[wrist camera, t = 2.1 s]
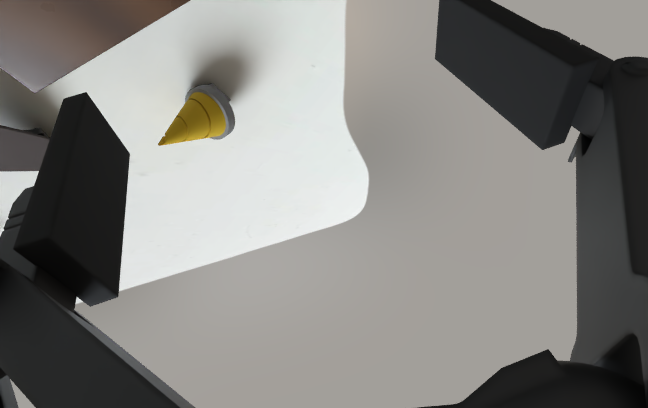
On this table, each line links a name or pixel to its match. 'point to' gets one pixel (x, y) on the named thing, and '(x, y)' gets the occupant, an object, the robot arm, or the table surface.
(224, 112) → the drill bit
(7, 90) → the table surface
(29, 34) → the cabinet
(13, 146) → the laptop tray
